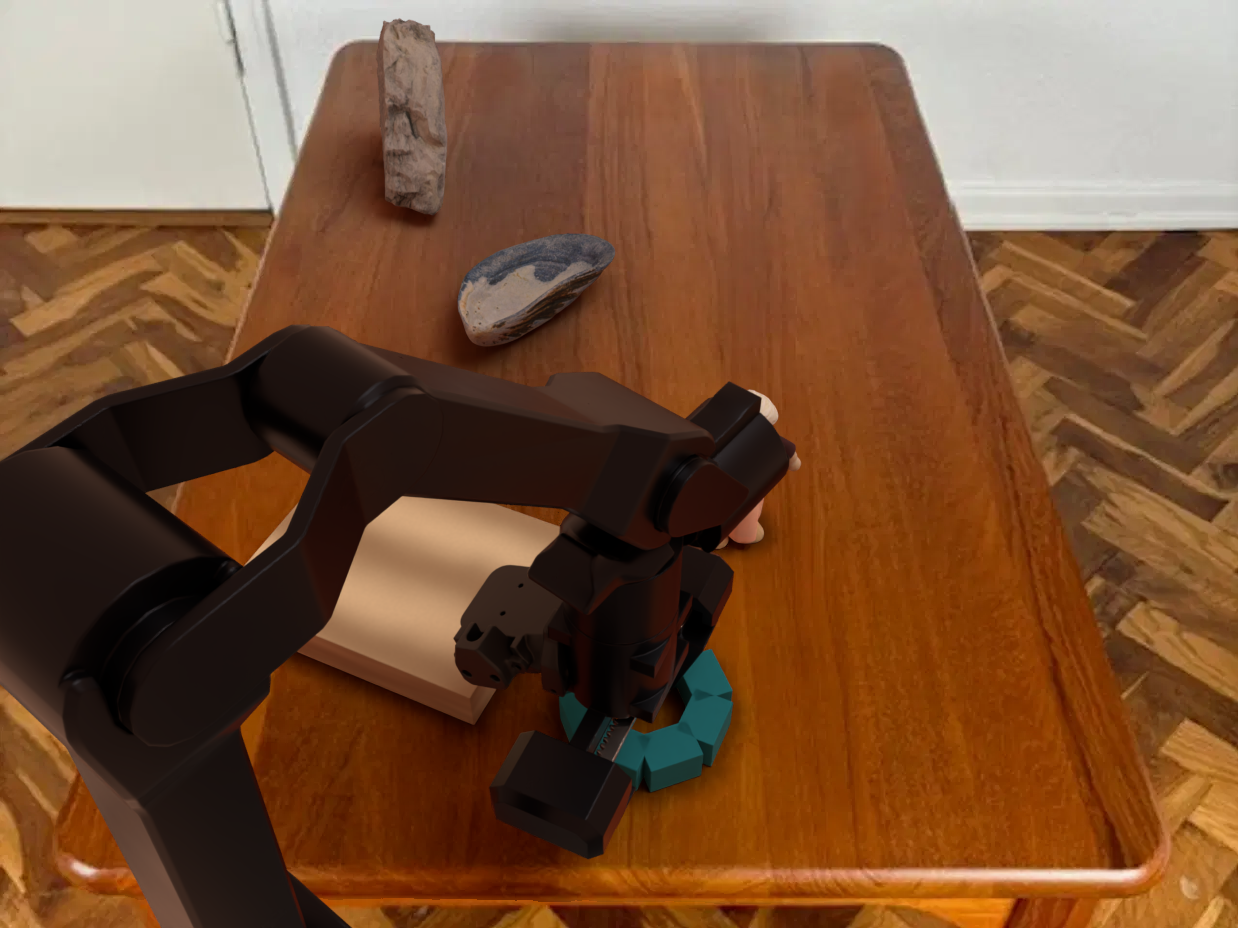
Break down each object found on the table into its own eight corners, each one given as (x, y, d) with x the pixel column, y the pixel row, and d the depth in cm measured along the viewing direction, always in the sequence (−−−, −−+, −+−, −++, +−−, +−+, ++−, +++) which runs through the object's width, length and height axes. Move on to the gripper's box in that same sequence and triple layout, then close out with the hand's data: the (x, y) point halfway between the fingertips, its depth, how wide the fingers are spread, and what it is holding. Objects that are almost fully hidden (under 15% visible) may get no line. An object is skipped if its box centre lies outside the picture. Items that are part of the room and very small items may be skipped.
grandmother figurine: (698, 566, 80) (709, 432, 71) (675, 526, 82) (683, 391, 73) (800, 535, 82) (824, 400, 73) (775, 496, 84) (795, 361, 75)
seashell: (617, 378, 93) (617, 328, 89) (456, 379, 93) (449, 330, 89) (614, 259, 104) (614, 210, 100) (469, 260, 103) (464, 211, 100)
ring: (689, 814, 68) (691, 793, 66) (535, 750, 70) (533, 728, 69) (749, 681, 74) (753, 659, 72) (606, 627, 77) (605, 604, 75)
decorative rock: (382, 136, 117) (358, -13, 106) (450, 131, 118) (433, -18, 107) (383, 233, 106) (356, 77, 95) (458, 227, 107) (440, 72, 96)
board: (474, 725, 72) (470, 698, 69) (228, 624, 77) (217, 595, 75) (576, 560, 80) (575, 531, 78) (349, 479, 86) (343, 449, 83)
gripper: (558, 427, 66) (566, 598, 78) (376, 686, 55) (417, 843, 66) (746, 488, 63) (726, 657, 75) (596, 778, 52) (599, 926, 63)
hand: (619, 760), depth 70 cm, fingers open, 8 cm apart
